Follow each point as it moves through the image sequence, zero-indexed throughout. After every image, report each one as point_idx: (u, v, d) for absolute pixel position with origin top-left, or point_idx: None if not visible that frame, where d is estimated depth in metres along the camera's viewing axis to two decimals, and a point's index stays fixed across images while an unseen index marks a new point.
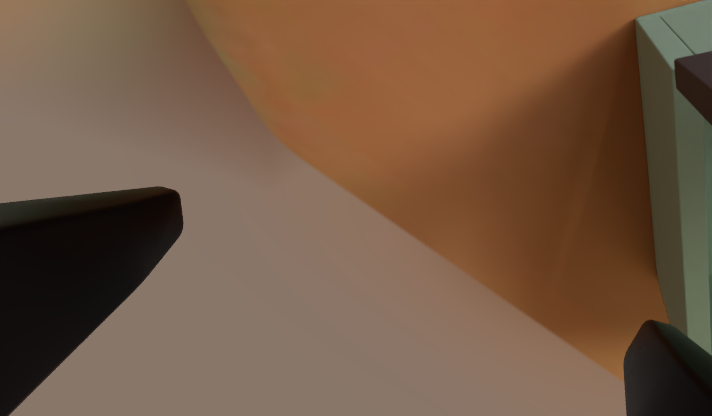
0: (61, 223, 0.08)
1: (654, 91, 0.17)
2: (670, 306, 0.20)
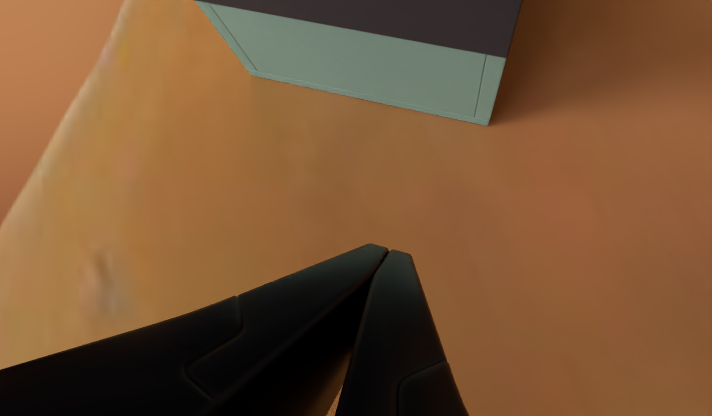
0: (338, 307, 0.07)
1: None
2: None
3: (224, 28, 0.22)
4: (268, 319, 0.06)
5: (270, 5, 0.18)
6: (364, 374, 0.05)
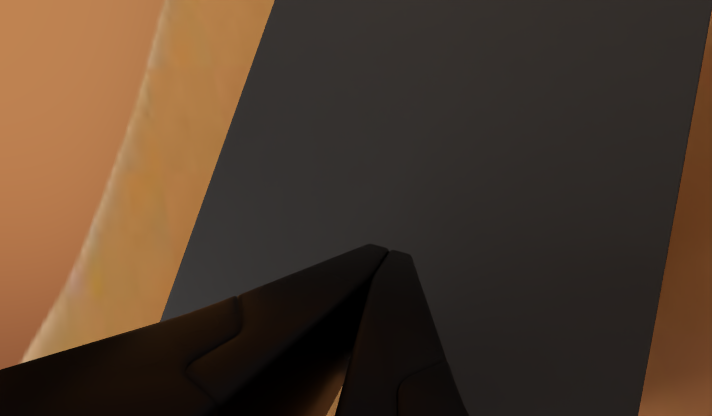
0: (339, 307, 0.07)
1: None
2: None
3: None
4: (268, 319, 0.06)
5: None
6: (364, 374, 0.05)
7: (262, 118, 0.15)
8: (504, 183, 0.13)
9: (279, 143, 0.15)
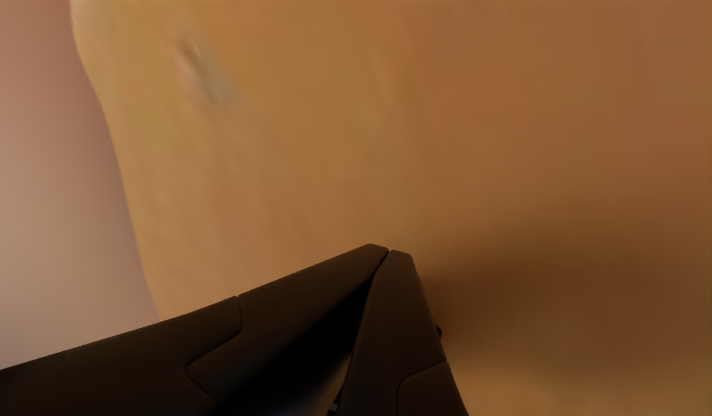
0: (338, 307, 0.07)
1: None
2: None
3: None
4: (268, 319, 0.06)
5: None
6: (364, 374, 0.05)
7: None
8: None
9: None
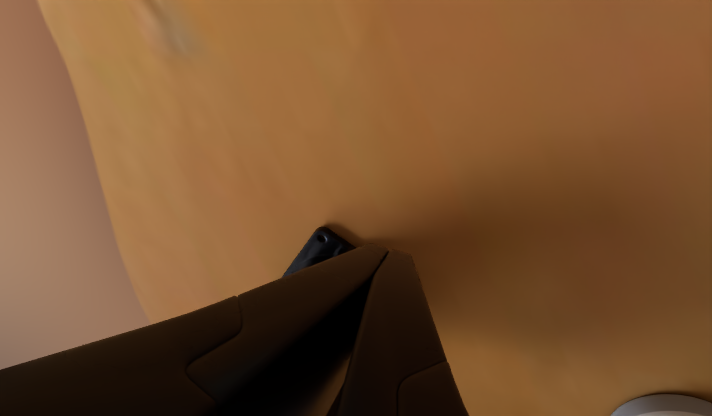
0: (339, 307, 0.07)
1: None
2: None
3: None
4: (268, 319, 0.06)
5: None
6: (364, 374, 0.05)
7: None
8: None
9: None
